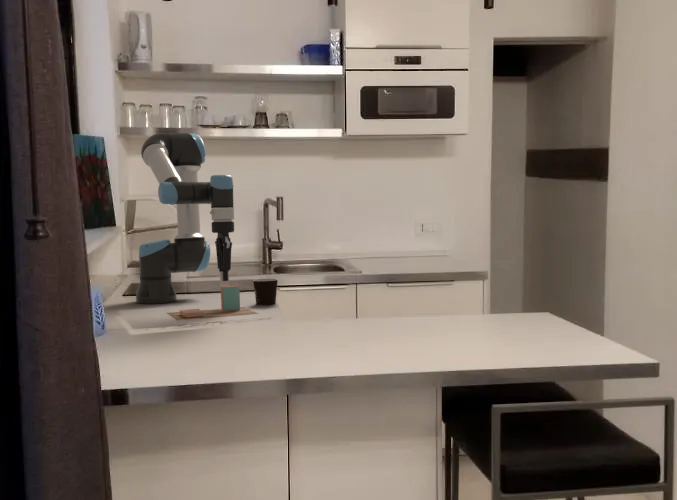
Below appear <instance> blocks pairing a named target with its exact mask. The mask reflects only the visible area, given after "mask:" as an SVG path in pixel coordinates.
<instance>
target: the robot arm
mask: <svg viewBox="0 0 677 500" xmlns="http://www.w3.org/2000/svg"><path fill="white" fill-rule="evenodd" d="M140 153H141V154H140V155H141V158H142V161H143V162H144V163H145V165H146V166H148V167H149V168H150V170H151V171H152V173H153V175H154V177H155V178H156V181H157V182H158V190H157V196H158V200H159V202H160V204H163V205H171V206H173V205H176V218H177V219H176V220H177V221H176V222H177V223H176V224H177V234H176V236H175V237H174V242H171V240H170V239H157V240H151V241H147V242H146V241H145V242H144V243H141V244H140V245H139V247H138V258H139V259H138V260H139V285H138V287H137V288H138V289H137V292H136V294H135V302H136V303H137V304H143V303H145V304H146V305H147V304H148V305H149V304H150V305H153V304H156V305H157V304H167V303H172V302H176V301H177V299H178V298H177V293H176V290H175V287H174V284H173V282H172V274H176V273H177V274H179V273H191V272H192V273H195V272H203V271H205V270H206V269H207V268H208V266H209V263H210V258H211V247H210V246H211V245H210V243H209V241H206V240H205V239H206V238H205V236H204V234H202V233H201V222H200V221H201V220H200V219H201V218H200V205H210V208H211V210H210V211H209V214H210V215H211V221H212V222H211V233H214V234H217V237H216V239H215V241H214V244H215V247H216V248H215V249H216V250H215V251H216V262H217V269H218V271H219V289H220V291H221V287H226V286H230V273H229V271H231V266H232V265H231V264H232V247H233V242H232V241H231V237H230V233H234V232H235V222H234V219H235V207H234V181H233V176H232V175H230V174H214V175H211V176H210V180H209V181H200V182H199V179H198V171H200V169H201V168H202V164H204V163H205V161H206V147H205V144H204V141H203V138H202V137H201V136H200V135H199V134H197V133H188V132H187V133H186V132H185V133H183V132H180V133H179V132H173V133H172V132H158V133H155V134H153V135H151V136H149V137H148V138H147V139H146V140H145V141H144V142H143V144H142V146H141V149H140ZM145 304H144V305H145Z"/></svg>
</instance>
